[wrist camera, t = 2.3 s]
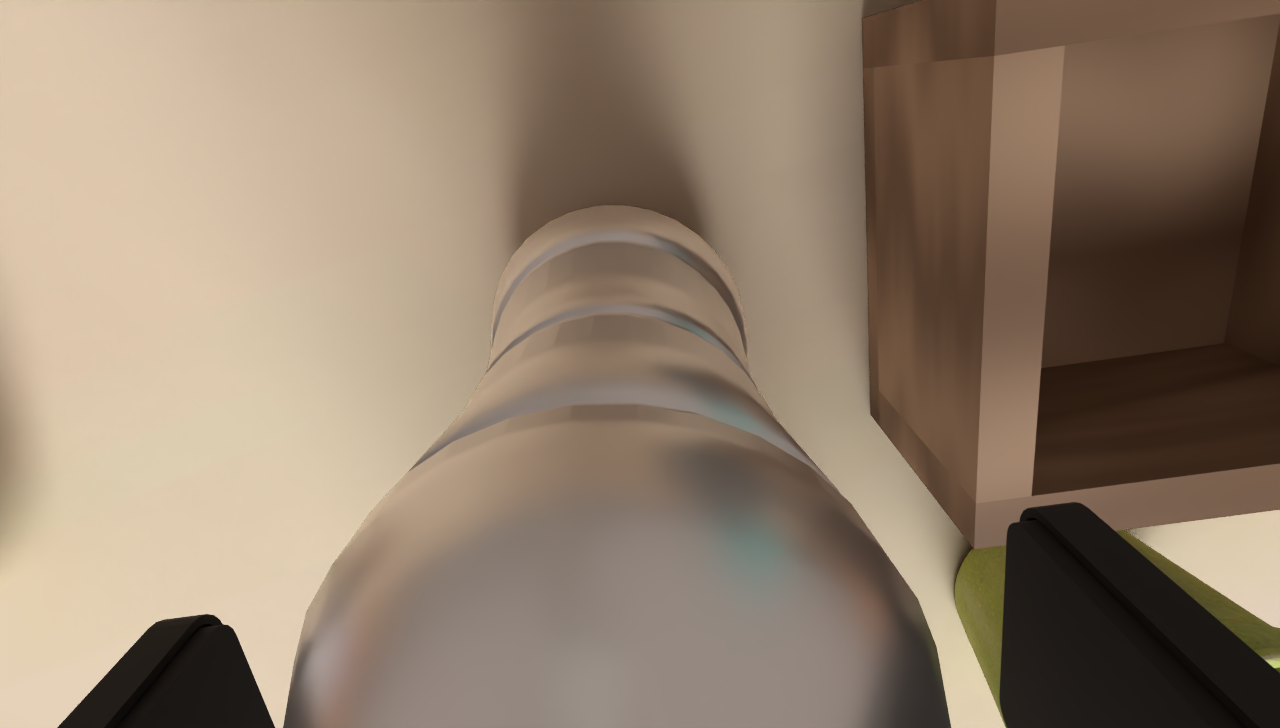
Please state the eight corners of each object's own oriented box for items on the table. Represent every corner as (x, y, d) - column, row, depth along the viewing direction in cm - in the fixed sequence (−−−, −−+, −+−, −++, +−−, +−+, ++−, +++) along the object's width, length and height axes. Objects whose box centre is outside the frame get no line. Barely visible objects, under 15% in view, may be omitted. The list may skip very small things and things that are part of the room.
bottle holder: (861, 18, 18) (997, -23, 12) (1311, -50, 18) (1710, -132, 11) (870, 414, 22) (973, 548, 16) (1235, 365, 22) (1496, 481, 15)
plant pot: (901, 694, 27) (1023, 957, 18) (904, 478, 23) (1056, 685, 15) (1151, 665, 26) (1385, 920, 18) (1191, 443, 23) (1501, 636, 15)
